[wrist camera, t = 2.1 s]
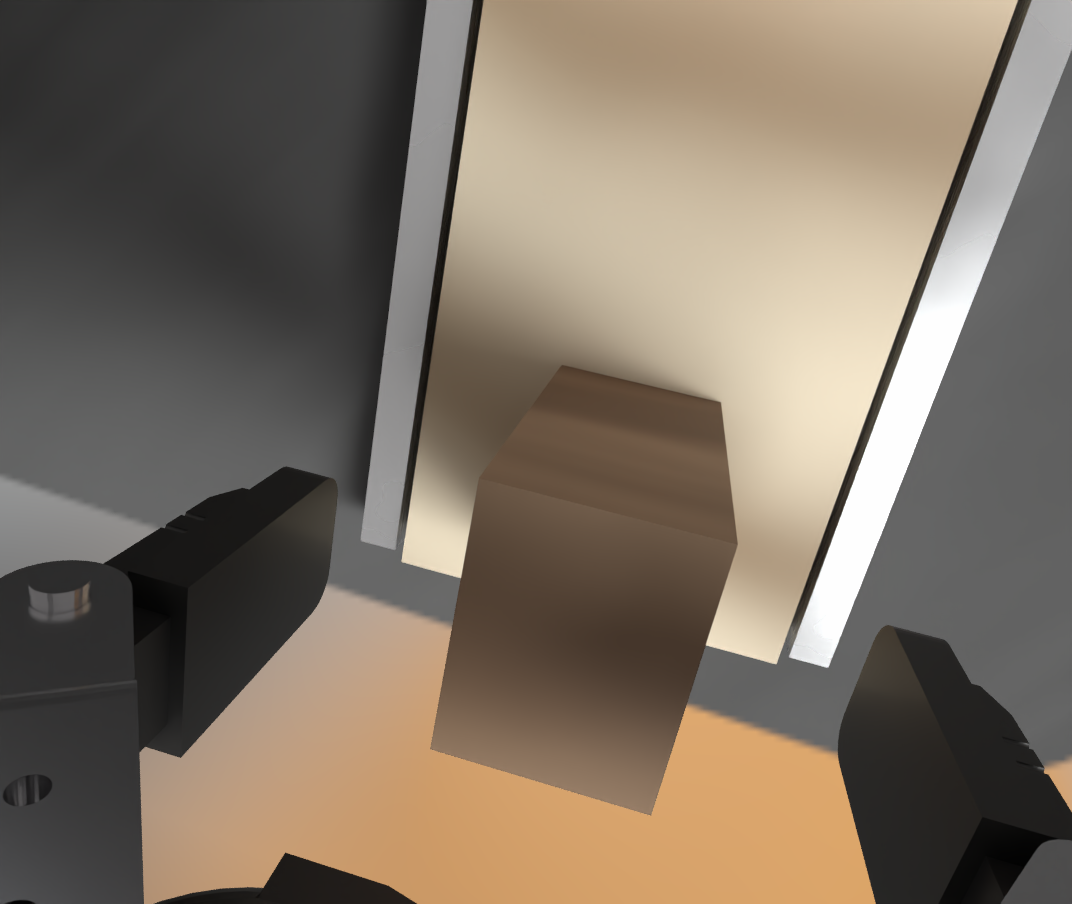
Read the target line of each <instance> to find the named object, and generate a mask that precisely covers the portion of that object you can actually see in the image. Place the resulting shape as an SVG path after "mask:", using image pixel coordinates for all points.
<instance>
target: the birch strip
mask: <svg viewBox="0 0 1072 904" xmlns="http://www.w3.org/2000/svg"><path fill="white" fill-rule="evenodd" d="M1017 2H1018V0H484V1H483V8H482V15H481V22H480V29H479V35H478V42H477V49H476V56H475V63H474V70H473V76H472V83H471V90H470V97H469V104H468V111H467V118H466V124H465V131H464V138H463V145H462V152H461V159H460V165H459V172H458V179H457V186H456V193H455V200H454V207H453V213H452V220H451V227H450V234H449V241H448V248H447V254H446V261H445V268H444V275H443V282H442V289H441V296H440V302H439V309H438V316H437V323H436V330H435V337H434V343H433V350H432V357H431V364H430V371H429V378H428V385H427V391H426V398H425V405H424V412H423V419H422V426H421V432H420V439H419V446H418V453H417V460H416V467H415V474H414V480H413V487H412V494H411V501H410V508H409V515H408V522H407V528H406V535H405V542H404V549H403V556H402V562H404V563H407V564H411V565H415V566H418V567H422V568H426V569H429V570H433V571H437V572H440V573H444V574H448V575H451V576H455V577H459V578H461V581H460V586H459V592H458V597H457V603H456V609H455V614H454V620H453V625H452V631H451V637H450V642H449V648H448V653H447V659H446V664H445V670H444V676H443V681H442V687H441V693H440V698H439V704H438V709H437V715H436V720H435V726H434V732H433V737H432V743H431V748H430V749H432V750H435V751H438V752H442V753H445V754H448V755H451V756H455V757H458V758H461V759H465V760H468V761H471V762H475V763H478V764H481V765H485V766H488V767H491V768H495V769H498V770H501V771H505V772H508V773H511V774H515V775H518V776H522V777H525V778H528V779H531V780H535V781H538V782H542V783H545V784H548V785H551V786H555V787H558V788H561V789H564V790H568V791H571V792H574V793H578V794H581V795H584V796H588V797H591V798H595V799H598V800H601V801H604V802H608V803H611V804H614V805H618V806H621V807H624V808H628V809H631V810H634V811H638V812H641V813H644V814H648V815H651V814H652V811H653V807H654V804H655V801H656V798H657V795H658V792H659V788H660V786H661V783H662V779H663V776H664V773H665V770H666V767H667V764H668V761H669V758H670V754H671V751H672V748H673V745H674V742H675V739H676V736H677V733H678V730H679V727H680V723H681V720H682V717H683V714H684V711H685V708H686V705H687V702H688V699H689V695H690V692H691V689H692V686H693V683H694V680H695V677H696V674H697V671H698V667H699V664H700V661H701V658H702V655H703V652H704V649H705V646H706V645H707V646H711V647H715V648H718V649H722V650H726V651H729V652H733V653H737V654H740V655H744V656H748V657H751V658H755V659H759V660H762V661H766V662H770V663H773V664H777V661H778V658H779V655H780V653H781V650H782V647H783V644H784V642H785V639H786V636H787V633H788V631H789V628H790V625H791V622H792V620H793V617H794V614H795V611H796V609H797V606H798V603H799V600H800V598H801V595H802V592H803V589H804V587H805V584H806V581H807V578H808V576H809V573H810V570H811V567H812V565H813V562H814V559H815V556H816V554H817V551H818V548H819V545H820V543H821V540H822V537H823V534H824V532H825V529H826V526H827V524H828V521H829V518H830V515H831V513H832V510H833V507H834V504H835V502H836V499H837V496H838V493H839V491H840V488H841V485H842V482H843V480H844V477H845V474H846V471H847V469H848V466H849V463H850V460H851V458H852V455H853V452H854V449H855V447H856V444H857V441H858V438H859V436H860V433H861V430H862V427H863V425H864V422H865V419H866V416H867V414H868V411H869V408H870V405H871V403H872V400H873V397H874V394H875V392H876V389H877V386H878V383H879V381H880V378H881V375H882V372H883V370H884V367H885V364H886V362H887V359H888V356H889V353H890V351H891V348H892V345H893V342H894V340H895V337H896V334H897V331H898V329H899V326H900V323H901V320H902V318H903V315H904V312H905V309H906V307H907V304H908V301H909V298H910V296H911V293H912V290H913V287H914V285H915V282H916V279H917V276H918V274H919V271H920V268H921V265H922V263H923V260H924V257H925V254H926V252H927V249H928V246H929V243H930V241H931V238H932V235H933V232H934V230H935V227H936V224H937V221H938V219H939V216H940V213H941V210H942V208H943V205H944V202H945V200H946V197H947V194H948V191H949V189H950V186H951V183H952V180H953V178H954V175H955V172H956V169H957V167H958V164H959V161H960V158H961V156H962V153H963V150H964V147H965V145H966V142H967V139H968V136H969V134H970V131H971V128H972V125H973V123H974V120H975V117H976V114H977V112H978V109H979V106H980V103H981V101H982V98H983V95H984V92H985V90H986V87H987V84H988V81H989V79H990V76H991V73H992V70H993V68H994V65H995V62H996V59H997V57H998V54H999V51H1000V49H1001V46H1002V43H1003V40H1004V38H1005V35H1006V32H1007V29H1008V27H1009V24H1010V21H1011V18H1012V16H1013V13H1014V10H1015V7H1016V5H1017Z"/></svg>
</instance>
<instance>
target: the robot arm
mask: <svg viewBox="0 0 1072 904" xmlns="http://www.w3.org/2000/svg"><path fill="white" fill-rule="evenodd" d="M337 497H338V489H337V484H336V481H335V480H334V479H333V478H329V477H325V476H321V475H317V474H314V473H310V472H306V471H302V470H298V469H294V468H291V467H283V468H281V469H279V470H278V471H276V472H275V473H273V474H272V475H270V476H269V477H267V478H266V479H264V480H263V481H261V482H260V483H258V484H257V485H255V486H254V487H252V488H251V489H245V488H241V489H237V490H234V491H230V492H226V493H223V494H219V495H216V496H212V497H209V498H207V499H206V500H204V501H203V502H201V503H200V504H198V505H196V506H195V507H193V508H192V509H190V510H188V511H187V512H186V514H185V516H183V515H180V516H179V517H177V518H176V519H174V520H172V521H171V522H169V523H168V524H166V527H165V528H160V529H158V530H156V531H155V532H153V533H152V534H150V535H149V536H147V537H145V538H144V539H142V540H141V541H139V542H137V543H136V544H134V545H133V546H131V547H130V548H128V549H127V550H125V551H123V552H121V553H120V554H118V555H117V556H115V557H113V558H112V559H110V560H109V561H107V562H105V563H104V564H101V563H97V562H90V561H77V560H67V561H53V562H46V563H41V564H36V565H32V566H28V567H25V568H22V569H19V570H16V571H14V572H12V573H9V574H7V575H5V576H3V577H2V578H0V904H144V895H143V894H144V893H143V861H142V826H141V793H140V761H139V752H140V751H141V750H142V749H143V748H144V747H148V748H151V749H155V750H158V751H161V752H164V753H167V754H170V755H174V756H177V757H180V758H181V757H182V756H183V755H184V754H185V752H186V751H187V750H188V749H189V748H190V747H191V746H192V745H193V744H194V743H195V742H196V740H197V739H198V738H199V737H200V736H201V735H202V734H203V733H204V732H205V730H206V729H207V728H208V727H209V726H210V725H211V724H212V723H213V722H214V721H215V719H216V718H217V717H218V716H219V715H220V714H221V713H222V712H223V711H224V709H225V708H226V707H227V706H228V705H229V704H230V703H231V702H232V700H234V699H235V697H236V696H237V695H238V694H239V693H240V692H241V691H242V690H243V689H244V687H245V686H246V685H247V684H248V683H249V682H250V681H251V680H252V679H253V678H254V676H255V675H256V674H257V673H258V672H259V671H260V670H261V668H262V667H263V666H264V665H265V664H266V663H267V662H268V661H269V660H270V659H271V658H272V656H273V655H274V654H275V653H276V652H277V651H278V650H279V649H280V648H281V647H282V646H283V644H284V643H285V642H286V641H287V640H288V639H289V638H290V637H291V636H292V634H293V633H294V632H295V631H296V630H297V629H298V628H299V627H300V626H301V625H302V624H303V622H304V621H305V620H306V619H307V618H308V617H309V616H310V615H311V614H312V612H313V611H314V609H315V608H316V607H317V605H318V603H319V601H320V599H321V597H322V595H323V592H324V589H325V587H326V583H327V580H328V575H329V568H330V559H331V551H332V542H333V533H334V524H335V515H336V507H337ZM838 759H839V764H840V768H841V772H842V776H843V779H844V784H845V787H846V791H847V795H848V799H849V802H850V807H851V810H852V814H853V818H854V822H855V825H856V829H857V833H858V837H859V841H860V845H861V849H862V852H863V856H864V860H865V864H866V868H867V871H868V875H869V879H870V883H871V887H872V891H873V894H874V898H875V902H876V904H1072V812H1071V810H1070V809H1069V807H1068V806H1067V804H1066V802H1065V801H1064V799H1063V798H1062V796H1061V794H1060V793H1059V791H1058V789H1057V788H1056V786H1055V785H1054V783H1053V781H1052V780H1051V778H1050V776H1049V775H1047V774H1044V769H1045V768H1044V767H1043V765H1042V763H1041V762H1040V760H1039V759H1038V757H1037V755H1036V754H1035V752H1034V751H1033V750H1032V749H1029V742H1028V741H1027V739H1026V738H1025V736H1024V734H1023V733H1022V731H1021V729H1020V728H1019V726H1018V725H1017V723H1016V721H1015V720H1014V718H1013V717H1012V715H1011V714H1010V713H1009V712H1008V711H1007V710H1006V709H1004V708H1003V707H1002V706H1001V705H1000V704H999V703H998V702H997V701H996V700H995V699H994V698H993V697H991V696H990V695H989V694H988V693H987V692H986V691H985V690H984V689H983V688H982V687H981V686H978V685H974V684H971V682H970V680H969V679H968V677H967V675H966V673H965V672H964V670H963V668H962V666H961V665H960V663H959V661H958V659H957V658H956V656H955V654H954V652H953V651H952V649H951V647H950V646H949V644H948V643H947V642H946V641H945V640H943V639H939V638H935V637H932V636H928V635H924V634H920V633H916V632H913V631H909V630H905V629H901V628H897V627H893V626H890V625H887V626H885V627H883V628H882V629H881V630H880V631H879V633H878V634H877V636H876V638H875V640H874V642H873V645H872V647H871V650H870V652H869V654H868V657H867V659H866V662H865V664H864V667H863V669H862V672H861V674H860V677H859V679H858V682H857V684H856V687H855V689H854V692H853V694H852V696H851V699H850V701H849V704H848V706H847V709H846V711H845V714H844V717H843V720H842V723H841V727H840V733H839V740H838ZM155 904H416V903H415V902H413V901H412V900H410V899H408V898H407V897H405V896H404V895H402V894H400V893H399V892H397V891H395V890H394V889H392V888H391V887H389V886H387V885H384V884H381V883H377V882H375V881H371V880H368V879H365V878H362V877H359V876H356V875H353V874H350V873H347V872H343V871H340V870H337V869H334V868H331V867H328V866H325V865H322V864H319V863H316V862H312V861H309V860H306V859H303V858H300V857H297V856H294V855H290V854H288V853H285V854H284V856H283V857H282V859H281V860H280V862H279V864H278V865H277V867H276V869H275V870H274V872H273V873H272V875H271V877H270V878H269V880H268V881H267V883H266V885H265V886H264V888H253V887H247V888H225V889H216V890H209V891H203V892H196V893H190V894H187V895H183V896H179V897H175V898H171V899H167V900H164V901H160V902H157V903H155Z"/></svg>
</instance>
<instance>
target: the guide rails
mask: <svg viewBox="0 0 1072 904" xmlns="http://www.w3.org/2000/svg"><path fill="white" fill-rule="evenodd" d="M483 1H484V0H427V6H426V14H425V22H424V30H423V38H422V47H421V55H420V63H419V71H418V79H417V87H416V95H415V104H414V112H413V120H412V128H411V136H410V144H409V152H408V160H407V169H406V177H405V185H404V193H403V201H402V209H401V217H400V225H399V234H398V242H397V250H396V258H395V266H394V274H393V282H392V290H391V299H390V307H389V315H388V323H387V331H386V339H385V347H384V355H383V364H382V372H381V380H380V388H379V396H378V404H377V412H376V421H375V429H374V437H373V445H372V453H371V461H370V469H369V477H368V486H367V494H366V502H365V510H364V518H363V526H362V534H361V541H363V542H367V543H371V544H374V545H378V546H382V547H386V548H389V549H393V550H396V548H397V547H398V546H399V545H400V543H401V542H402V541H403V540H404V539H405V535H406V528H407V522H408V515H409V508H410V501H411V494H412V487H413V480H414V474H415V467H416V460H417V453H418V446H419V439H420V432H421V426H422V419H423V412H424V405H425V398H426V391H427V385H428V378H429V371H430V364H431V357H432V350H433V343H434V337H435V330H436V323H437V316H438V309H439V302H440V296H441V289H442V282H443V275H444V268H445V261H446V254H447V248H448V241H449V234H450V227H451V220H452V213H453V207H454V200H455V193H456V186H457V179H458V172H459V165H460V159H461V152H462V145H463V138H464V131H465V124H466V118H467V111H468V104H469V97H470V90H471V83H472V76H473V70H474V63H475V56H476V49H477V42H478V35H479V29H480V22H481V15H482V8H483ZM1071 50H1072V0H1018V2H1017V5H1016V7H1015V10H1014V13H1013V16H1012V18H1011V21H1010V24H1009V27H1008V29H1007V32H1006V35H1005V38H1004V40H1003V43H1002V46H1001V49H1000V51H999V54H998V57H997V59H996V62H995V65H994V68H993V70H992V73H991V76H990V79H989V81H988V84H987V87H986V90H985V92H984V95H983V98H982V101H981V103H980V106H979V109H978V112H977V114H976V117H975V120H974V123H973V125H972V128H971V131H970V134H969V136H968V139H967V142H966V145H965V147H964V150H963V153H962V156H961V158H960V161H959V164H958V167H957V169H956V172H955V175H954V178H953V180H952V183H951V186H950V189H949V191H948V194H947V197H946V200H945V202H944V205H943V208H942V210H941V213H940V216H939V219H938V221H937V224H936V227H935V230H934V232H933V235H932V238H931V241H930V243H929V246H928V249H927V252H926V254H925V257H924V260H923V263H922V265H921V268H920V271H919V274H918V276H917V279H916V282H915V285H914V287H913V290H912V293H911V296H910V298H909V301H908V304H907V307H906V309H905V312H904V315H903V318H902V320H901V323H900V326H899V329H898V331H897V334H896V337H895V340H894V342H893V345H892V348H891V351H890V353H889V356H888V359H887V362H886V364H885V367H884V370H883V372H882V375H881V378H880V381H879V383H878V386H877V389H876V392H875V394H874V397H873V400H872V403H871V405H870V408H869V411H868V414H867V416H866V419H865V422H864V425H863V427H862V430H861V433H860V436H859V438H858V441H857V444H856V447H855V449H854V452H853V455H852V458H851V460H850V463H849V466H848V469H847V471H846V474H845V477H844V480H843V482H842V485H841V488H840V491H839V493H838V496H837V499H836V502H835V504H834V507H833V510H832V513H831V515H830V518H829V521H828V524H827V526H826V529H825V532H824V534H823V537H822V540H821V543H820V545H819V548H818V551H817V554H816V556H815V559H814V562H813V565H812V567H811V570H810V573H809V576H808V578H807V581H806V584H805V587H804V589H803V592H802V595H801V598H800V600H799V603H798V606H797V609H796V611H795V614H794V617H793V620H792V622H791V625H790V628H789V631H788V633H787V636H786V639H785V640H786V645H787V650H788V655H789V657H790V658H794V659H798V660H801V661H805V662H809V663H812V664H816V665H820V666H823V667H827V668H828V666H829V664H830V661H831V659H832V656H833V654H834V651H835V649H836V646H837V644H838V641H839V638H840V636H841V633H842V631H843V628H844V626H845V623H846V621H847V618H848V616H849V613H850V611H851V608H852V605H853V603H854V600H855V598H856V595H857V593H858V590H859V588H860V585H861V583H862V580H863V578H864V575H865V572H866V570H867V567H868V565H869V562H870V560H871V557H872V555H873V552H874V550H875V547H876V545H877V542H878V539H879V537H880V534H881V532H882V529H883V527H884V524H885V522H886V519H887V517H888V514H889V512H890V509H891V506H892V504H893V501H894V499H895V496H896V494H897V491H898V489H899V486H900V484H901V481H902V479H903V476H904V473H905V471H906V468H907V466H908V463H909V461H910V458H911V456H912V453H913V451H914V448H915V446H916V443H917V440H918V438H919V435H920V433H921V430H922V428H923V425H924V423H925V420H926V418H927V415H928V413H929V410H930V407H931V405H932V402H933V400H934V397H935V395H936V392H937V390H938V387H939V385H940V382H941V380H942V377H943V374H944V372H945V369H946V367H947V364H948V362H949V359H950V357H951V354H952V352H953V349H954V347H955V344H956V341H957V339H958V336H959V334H960V331H961V329H962V326H963V324H964V321H965V319H966V316H967V314H968V311H969V308H970V306H971V303H972V301H973V298H974V296H975V293H976V291H977V288H978V286H979V283H980V281H981V278H982V275H983V273H984V270H985V268H986V265H987V263H988V260H989V258H990V255H991V253H992V250H993V248H994V245H995V242H996V240H997V237H998V235H999V232H1000V230H1001V227H1002V225H1003V222H1004V220H1005V217H1006V215H1007V212H1008V209H1009V207H1010V204H1011V202H1012V199H1013V197H1014V194H1015V192H1016V189H1017V187H1018V184H1019V182H1020V179H1021V176H1022V174H1023V171H1024V169H1025V166H1026V164H1027V161H1028V159H1029V156H1030V154H1031V151H1032V149H1033V146H1034V143H1035V141H1036V138H1037V136H1038V133H1039V131H1040V128H1041V126H1042V123H1043V121H1044V118H1045V116H1046V113H1047V110H1048V108H1049V105H1050V103H1051V100H1052V98H1053V95H1054V93H1055V90H1056V88H1057V85H1058V83H1059V80H1060V77H1061V75H1062V72H1063V70H1064V67H1065V65H1066V62H1067V60H1068V57H1069V55H1070V52H1071Z"/></svg>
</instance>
